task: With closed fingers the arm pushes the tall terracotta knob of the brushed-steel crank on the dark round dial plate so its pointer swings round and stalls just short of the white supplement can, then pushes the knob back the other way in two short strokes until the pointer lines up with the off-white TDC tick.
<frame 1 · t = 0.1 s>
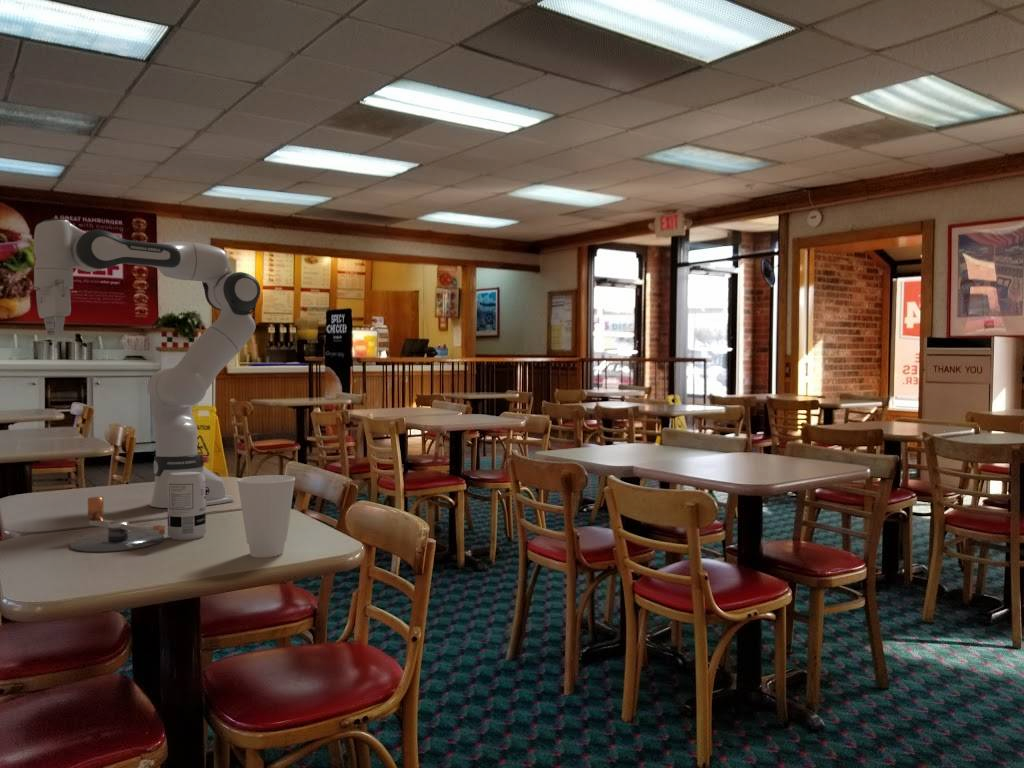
hand: (54, 334, 211), 48 cm above the table, fingers open, 8 cm apart
dial plate: (118, 542, 183), on the table
cup: (267, 554, 172), on the table
crank: (125, 515, 181), point 6 cm above the table, hinge at 20.0°
supplement can: (187, 537, 189), on the table
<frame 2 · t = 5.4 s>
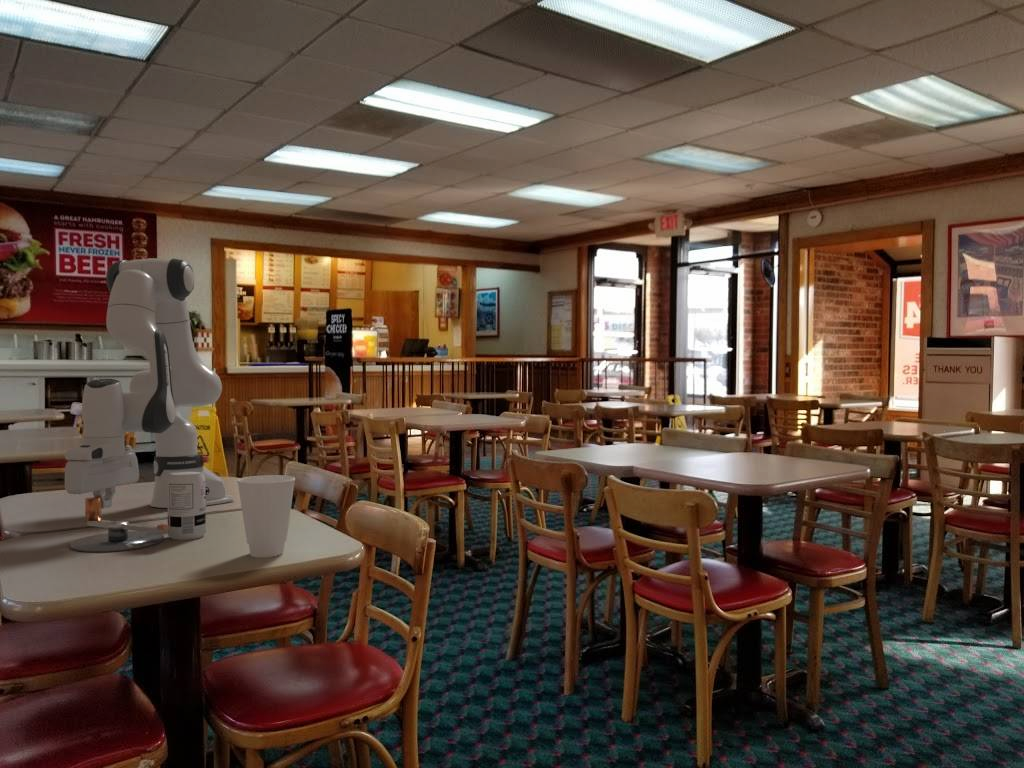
hand: (104, 507, 189), 7 cm above the table, fingers closed
crank: (126, 515, 181), point 6 cm above the table, hinge at 24.5°, touching gripper
everything else where it was.
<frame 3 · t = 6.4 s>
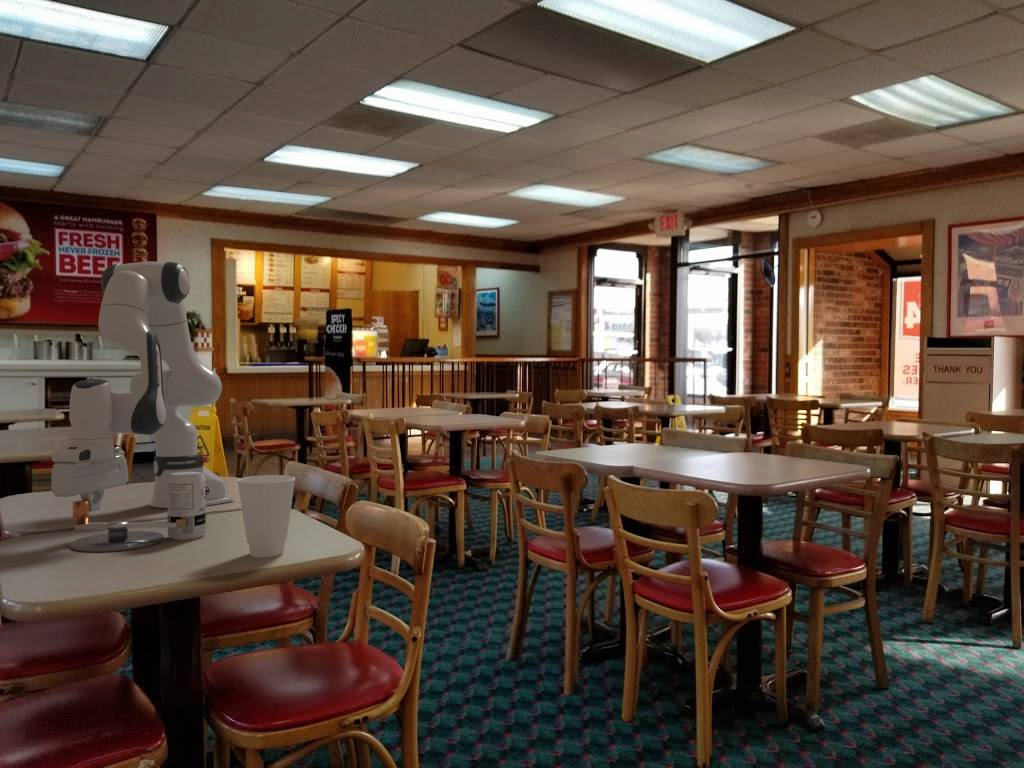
hand: (92, 510, 185), 7 cm above the table, fingers closed
crank: (130, 514, 183), point 6 cm above the table, hinge at 54.1°, touching gripper
everything else where it was.
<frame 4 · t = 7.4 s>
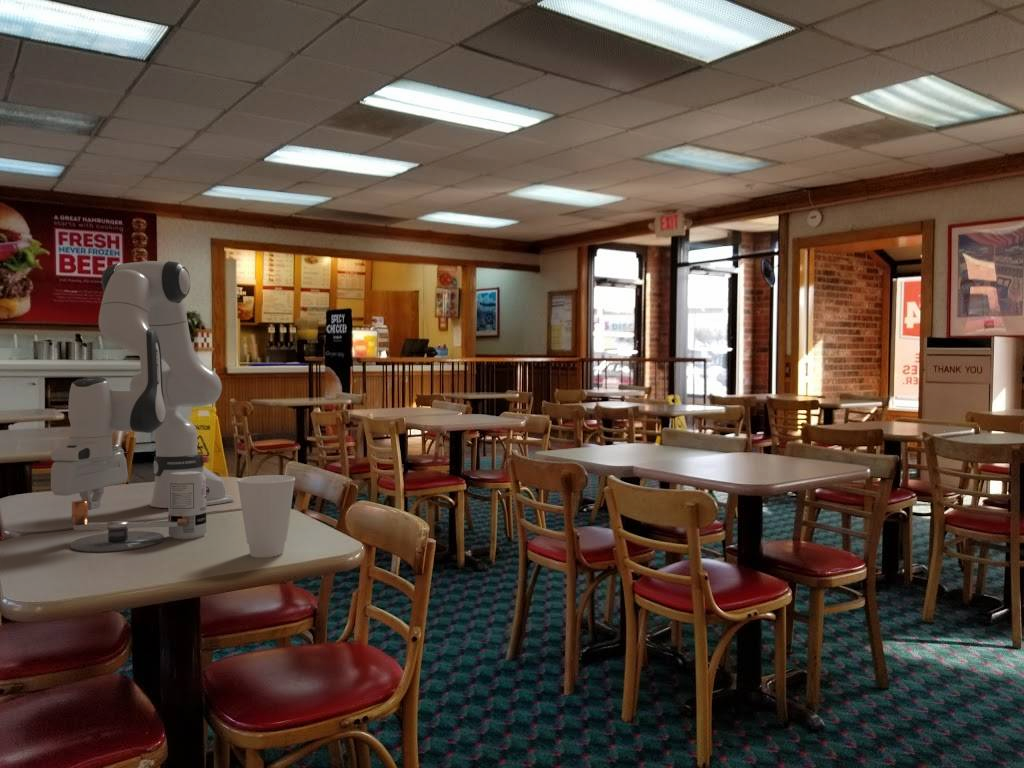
hand: (92, 508, 185), 7 cm above the table, fingers closed
crank: (130, 514, 183), point 6 cm above the table, hinge at 57.6°
everything else where it was.
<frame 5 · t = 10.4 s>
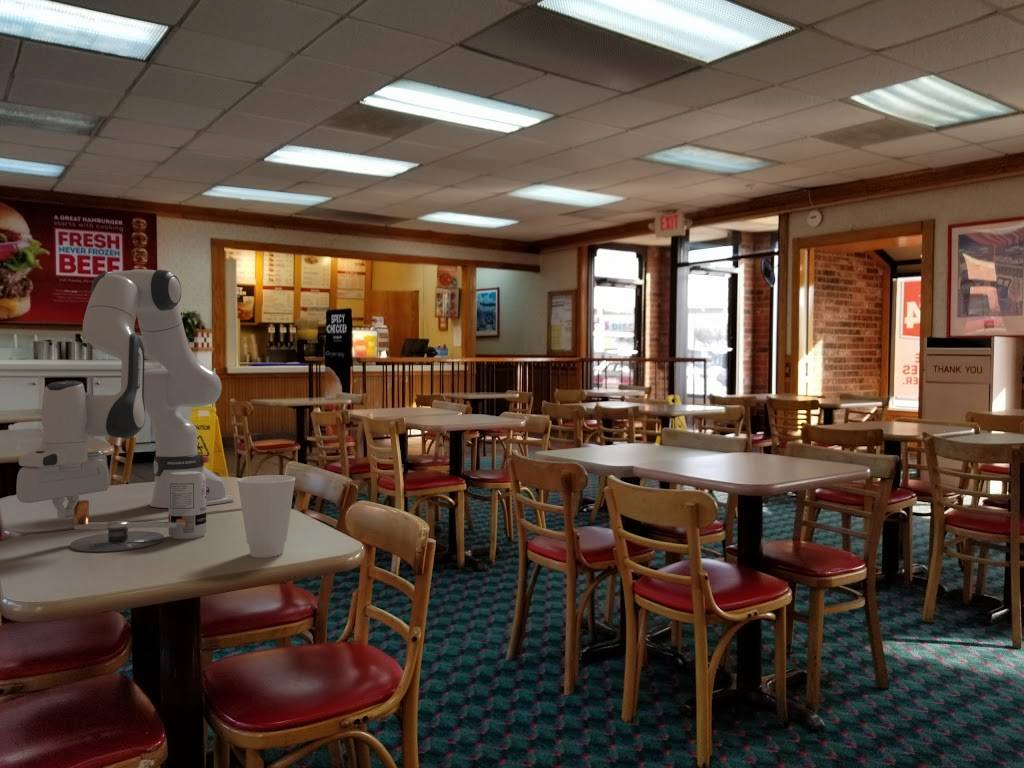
hand: (65, 517, 179), 7 cm above the table, fingers closed
crank: (130, 514, 183), point 6 cm above the table, hinge at 53.9°, touching gripper
everything else where it was.
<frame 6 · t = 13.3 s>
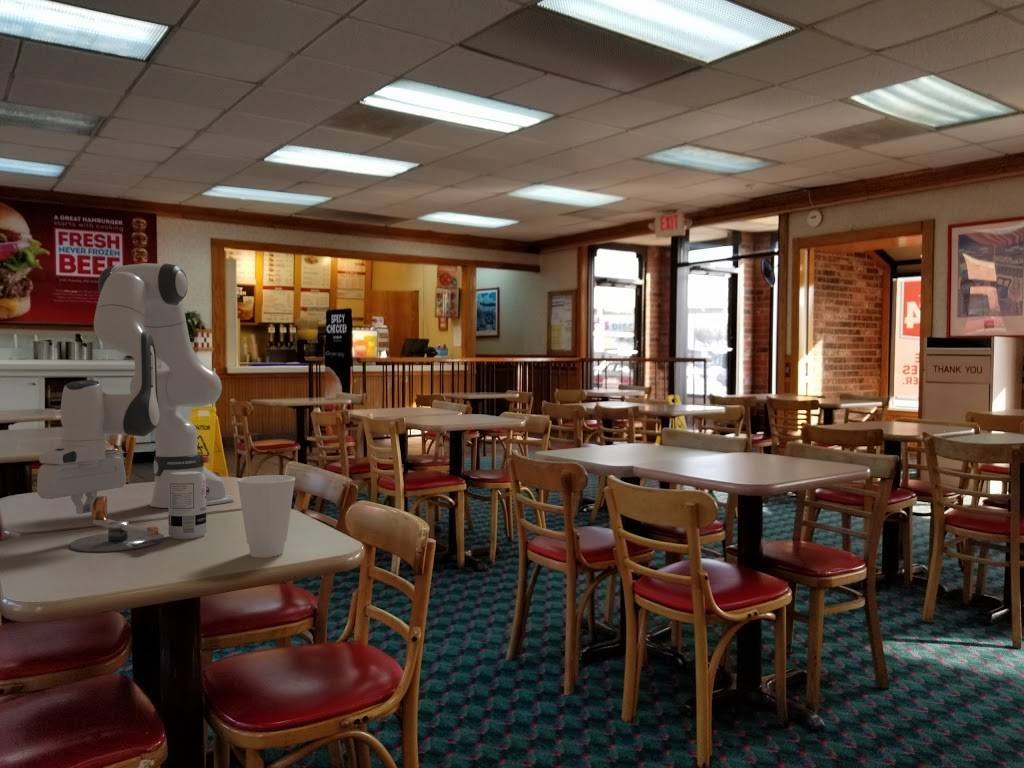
hand: (84, 512, 184), 7 cm above the table, fingers closed
crank: (124, 515, 181), point 6 cm above the table, hinge at 13.7°, touching gripper
everything else where it was.
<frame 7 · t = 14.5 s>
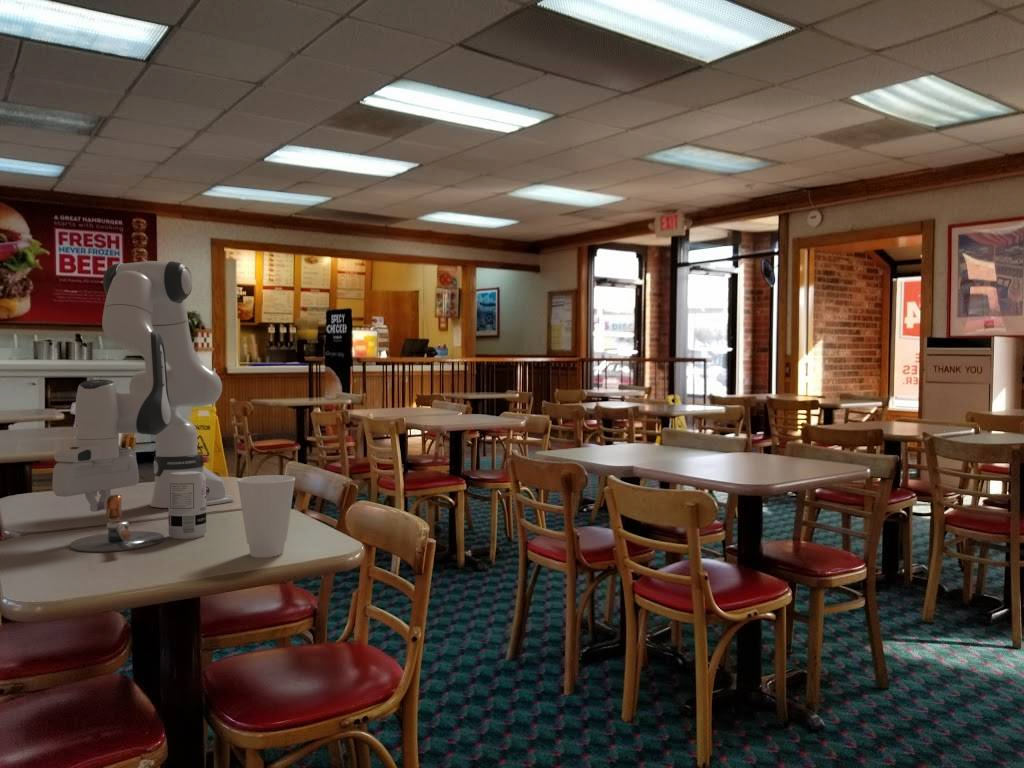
hand: (98, 510, 186), 7 cm above the table, fingers closed
crank: (119, 516, 180), point 6 cm above the table, hinge at -8.8°, touching gripper
everything else where it was.
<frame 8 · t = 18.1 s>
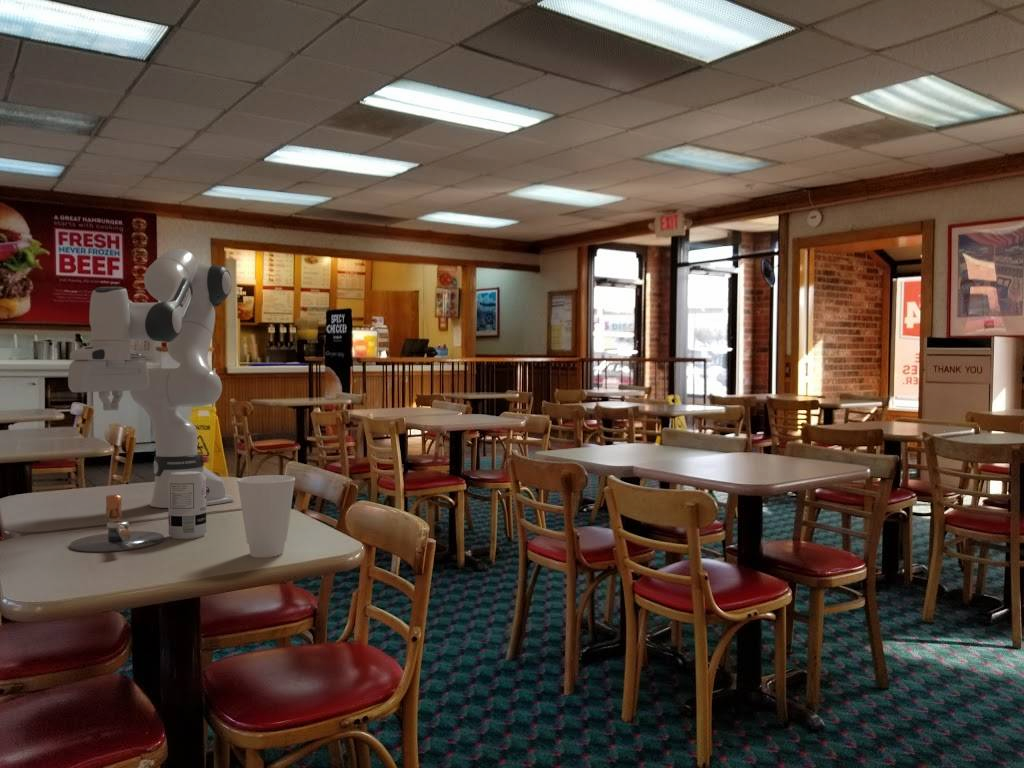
hand: (111, 410, 196), 29 cm above the table, fingers closed
crank: (119, 516, 180), point 6 cm above the table, hinge at -8.9°
everything else where it was.
at the end: crank at -9° (first picture: +20°); supplement can moved 0.7 cm from its start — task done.
